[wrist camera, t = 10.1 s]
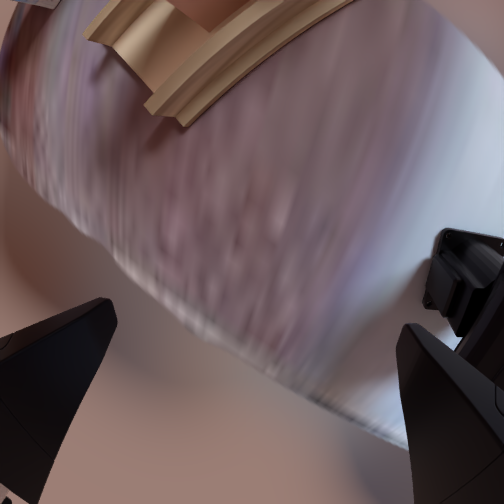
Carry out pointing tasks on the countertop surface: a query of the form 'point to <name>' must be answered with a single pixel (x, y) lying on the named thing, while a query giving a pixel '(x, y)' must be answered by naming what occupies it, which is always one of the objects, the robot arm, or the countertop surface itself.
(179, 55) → the book trough
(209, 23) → the salmon pink rectangular block
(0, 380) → the robot arm
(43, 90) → the countertop surface
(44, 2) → the light bulb box
